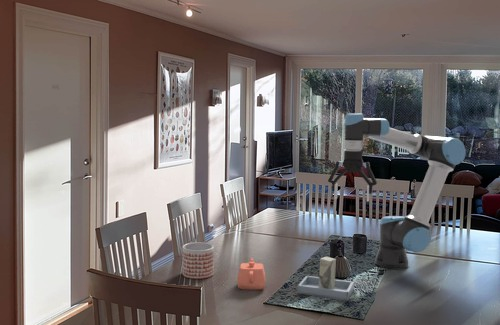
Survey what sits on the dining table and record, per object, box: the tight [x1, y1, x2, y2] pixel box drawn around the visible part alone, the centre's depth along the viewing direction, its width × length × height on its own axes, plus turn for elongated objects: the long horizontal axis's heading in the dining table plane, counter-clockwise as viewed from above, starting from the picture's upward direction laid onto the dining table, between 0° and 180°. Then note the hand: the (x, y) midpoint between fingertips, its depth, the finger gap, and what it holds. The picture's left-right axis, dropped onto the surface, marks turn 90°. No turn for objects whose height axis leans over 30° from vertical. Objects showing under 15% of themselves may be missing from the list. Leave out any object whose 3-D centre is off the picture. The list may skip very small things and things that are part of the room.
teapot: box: [237, 257, 266, 291], centre depth 210 cm, size 12×18×10 cm, turn 178°
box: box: [318, 256, 337, 289], centre depth 204 cm, size 5×4×13 cm
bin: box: [297, 275, 355, 301], centre depth 205 cm, size 13×20×3 cm, turn 69°
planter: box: [181, 241, 215, 280], centre depth 224 cm, size 14×14×13 cm
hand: (351, 200), depth 217 cm, fingers open, 13 cm apart
